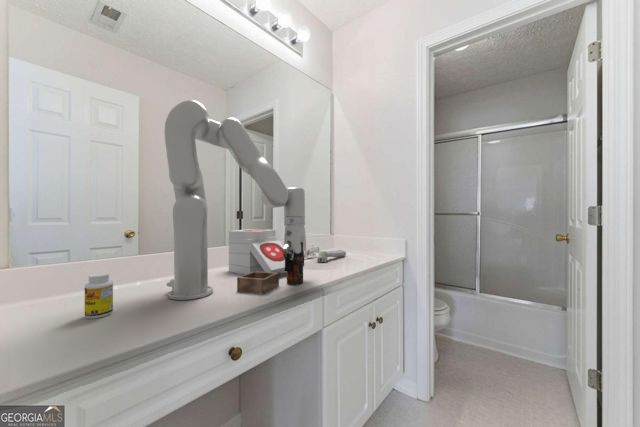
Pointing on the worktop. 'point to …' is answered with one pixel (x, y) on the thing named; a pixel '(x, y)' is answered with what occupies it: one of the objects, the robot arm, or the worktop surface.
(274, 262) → the white stacked boxes
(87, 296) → the supplement bottle
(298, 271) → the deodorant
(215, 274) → the worktop surface
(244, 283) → the holder
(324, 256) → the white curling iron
